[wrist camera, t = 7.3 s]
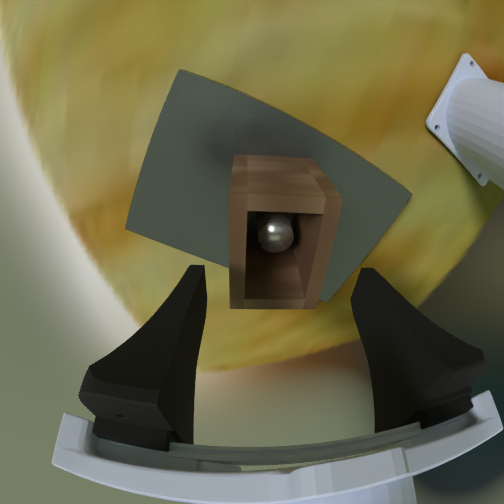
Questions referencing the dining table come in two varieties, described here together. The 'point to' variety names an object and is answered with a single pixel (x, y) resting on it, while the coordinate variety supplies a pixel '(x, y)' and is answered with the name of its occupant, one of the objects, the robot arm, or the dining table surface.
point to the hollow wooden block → (304, 230)
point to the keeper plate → (220, 170)
